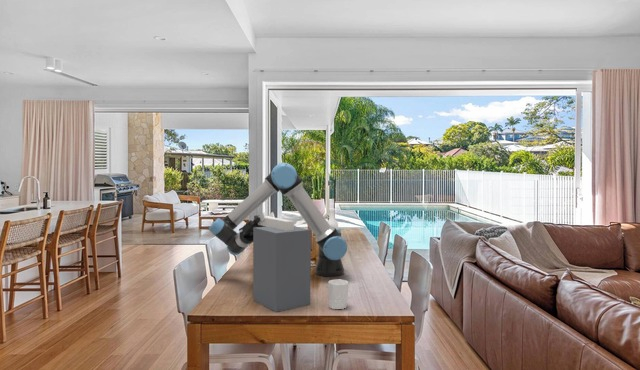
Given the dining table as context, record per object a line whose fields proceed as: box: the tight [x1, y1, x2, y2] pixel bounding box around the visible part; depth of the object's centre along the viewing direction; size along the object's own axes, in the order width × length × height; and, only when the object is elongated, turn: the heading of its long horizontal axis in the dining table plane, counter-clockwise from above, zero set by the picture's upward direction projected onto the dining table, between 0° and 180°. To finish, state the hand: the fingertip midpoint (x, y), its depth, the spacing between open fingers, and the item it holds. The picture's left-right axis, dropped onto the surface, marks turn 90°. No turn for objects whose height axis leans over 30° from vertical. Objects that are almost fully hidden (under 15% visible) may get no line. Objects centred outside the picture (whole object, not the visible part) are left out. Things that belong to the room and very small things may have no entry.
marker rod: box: [253, 214, 295, 231], centre depth 177 cm, size 26×4×4 cm, turn 37°
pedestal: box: [252, 226, 312, 313], centre depth 172 cm, size 18×16×30 cm
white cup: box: [327, 279, 349, 310], centre depth 167 cm, size 8×8×10 cm
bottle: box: [326, 207, 339, 229], centre depth 267 cm, size 8×8×30 cm
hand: (268, 215), depth 180 cm, fingers closed on marker rod, 4 cm apart
